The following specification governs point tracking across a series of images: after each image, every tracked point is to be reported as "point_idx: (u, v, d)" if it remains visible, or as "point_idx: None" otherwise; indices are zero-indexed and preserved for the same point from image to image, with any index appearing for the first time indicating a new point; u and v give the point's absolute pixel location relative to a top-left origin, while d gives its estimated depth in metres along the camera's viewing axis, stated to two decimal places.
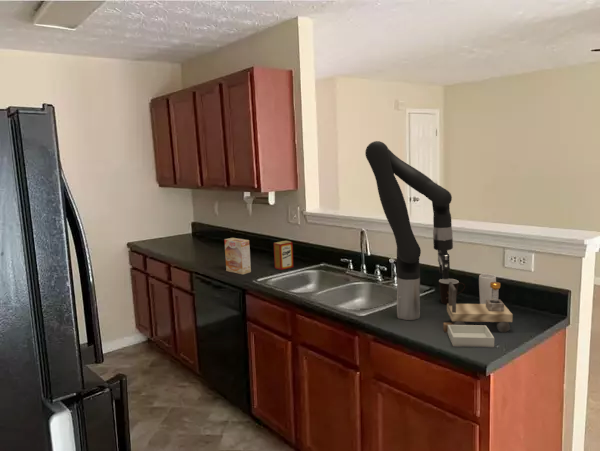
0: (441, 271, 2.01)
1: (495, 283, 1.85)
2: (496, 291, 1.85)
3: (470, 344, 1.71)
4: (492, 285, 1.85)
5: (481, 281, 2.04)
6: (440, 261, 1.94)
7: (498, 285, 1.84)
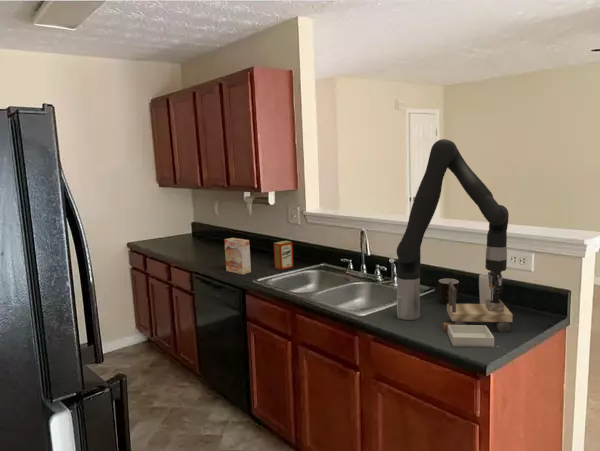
0: None
1: None
2: None
3: (470, 344, 1.71)
4: None
5: (481, 281, 2.04)
6: (492, 283, 1.84)
7: None
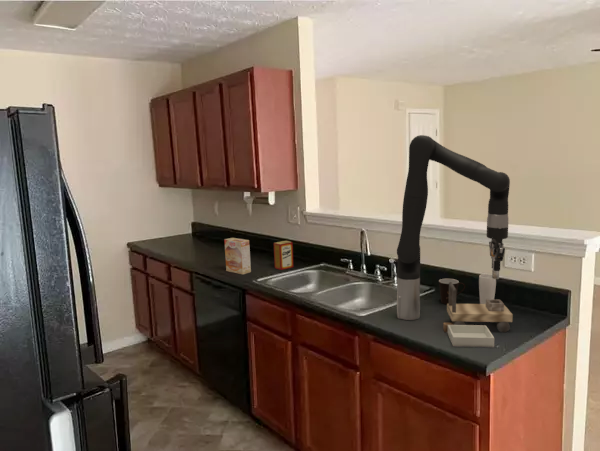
0: None
1: None
2: None
3: (470, 344, 1.71)
4: None
5: (481, 281, 2.04)
6: (493, 251, 1.82)
7: None
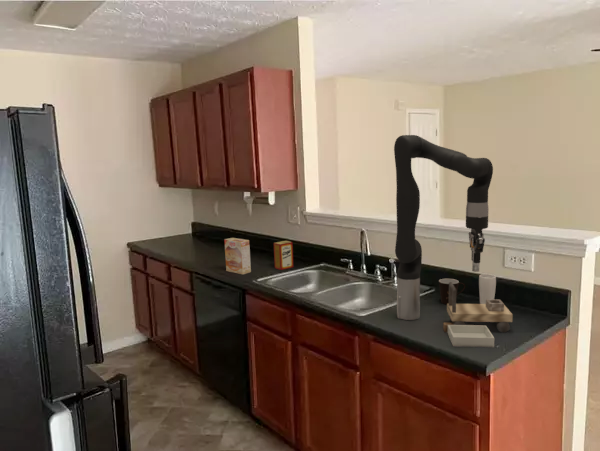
0: None
1: None
2: None
3: (470, 344, 1.71)
4: None
5: (481, 281, 2.04)
6: (472, 242, 1.71)
7: None
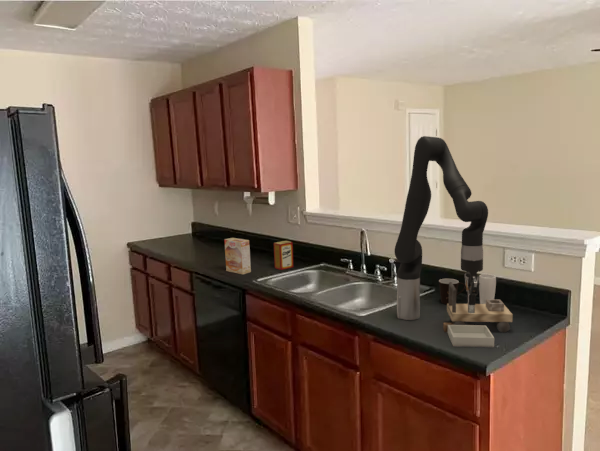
0: None
1: None
2: None
3: (470, 344, 1.71)
4: None
5: (481, 281, 2.04)
6: (467, 285, 1.71)
7: None
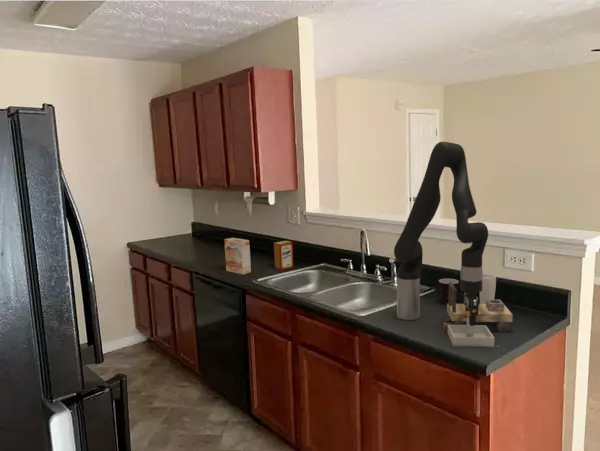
0: None
1: None
2: None
3: (470, 344, 1.71)
4: (467, 313, 1.75)
5: None
6: (467, 305, 1.71)
7: None
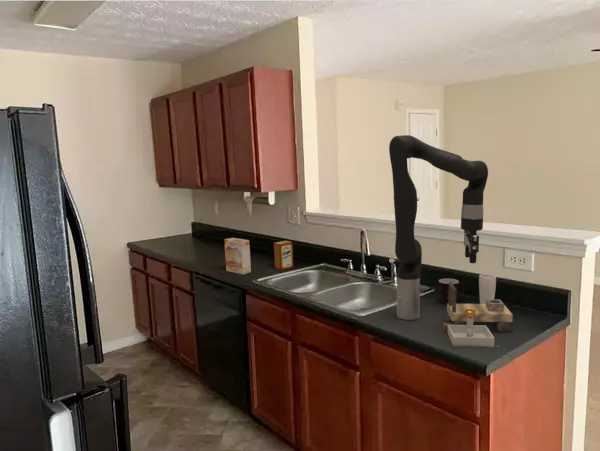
0: (467, 255, 1.80)
1: (469, 310, 1.75)
2: (471, 319, 1.75)
3: (470, 344, 1.71)
4: (467, 313, 1.75)
5: (481, 281, 2.04)
6: (467, 243, 1.72)
7: (473, 313, 1.74)
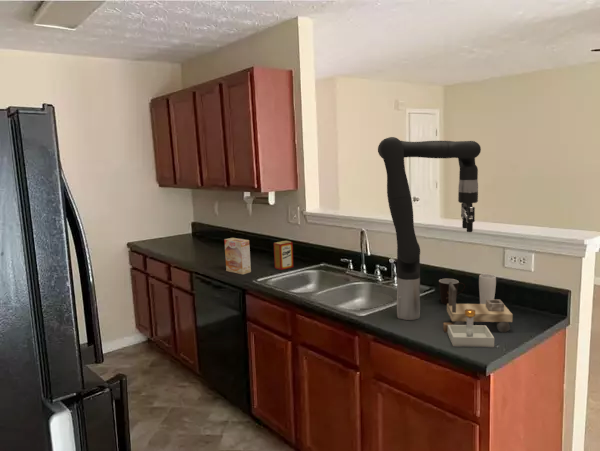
0: (464, 226, 2.01)
1: (469, 310, 1.75)
2: (471, 319, 1.75)
3: (470, 344, 1.71)
4: (467, 313, 1.75)
5: (481, 281, 2.04)
6: (465, 214, 1.93)
7: (473, 313, 1.74)
